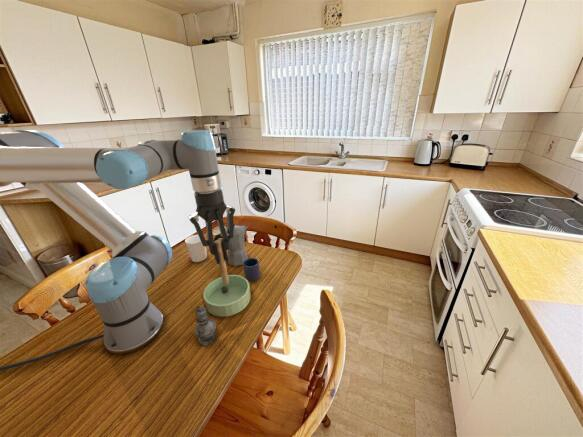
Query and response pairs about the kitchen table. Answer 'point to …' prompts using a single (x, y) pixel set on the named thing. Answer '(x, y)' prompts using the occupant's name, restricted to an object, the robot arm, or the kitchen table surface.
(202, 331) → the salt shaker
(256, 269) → the utensil pot
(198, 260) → the white cup
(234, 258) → the coffeepot
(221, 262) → the stirring stick
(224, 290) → the bead
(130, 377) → the kitchen table surface
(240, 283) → the bowl
